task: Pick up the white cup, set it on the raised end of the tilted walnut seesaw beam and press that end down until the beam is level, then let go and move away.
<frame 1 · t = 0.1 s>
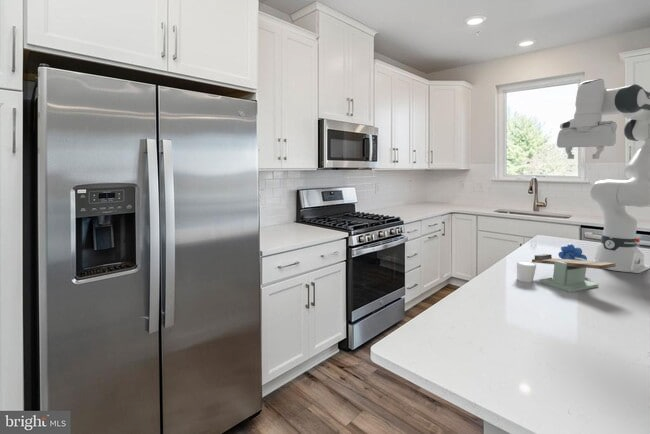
hand: (582, 158, 141), 48 cm above the countertop, tool pointing down, fingers open, 8 cm apart
grapes: (569, 272, 153), on the countertop
seesaw beam: (570, 261, 136), point 9 cm above the countertop, hinge at -10.0°
pivot stand: (568, 284, 138), on the countertop
white cup: (524, 280, 143), on the countertop
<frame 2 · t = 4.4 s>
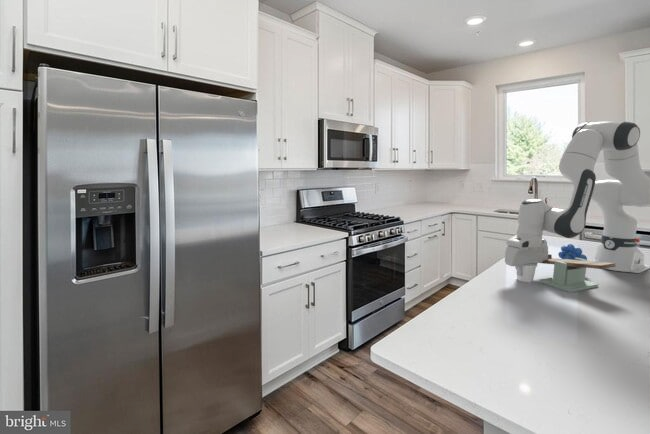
hand: (525, 274, 142), 2 cm above the countertop, tool pointing down, fingers closed on white cup, 5 cm apart
white cup: (524, 280, 143), on the countertop, touching gripper
everything else where it was.
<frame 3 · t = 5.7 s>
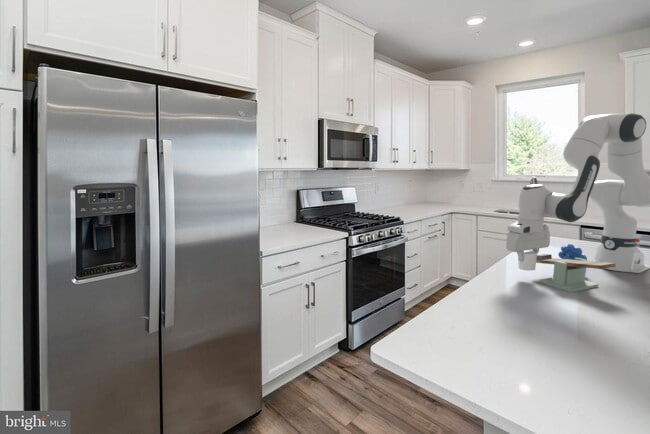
hand: (527, 260, 142), 8 cm above the countertop, tool pointing down, fingers closed on white cup, 5 cm apart
white cup: (526, 269, 142), point 4 cm above the countertop, touching gripper
everything else where it was.
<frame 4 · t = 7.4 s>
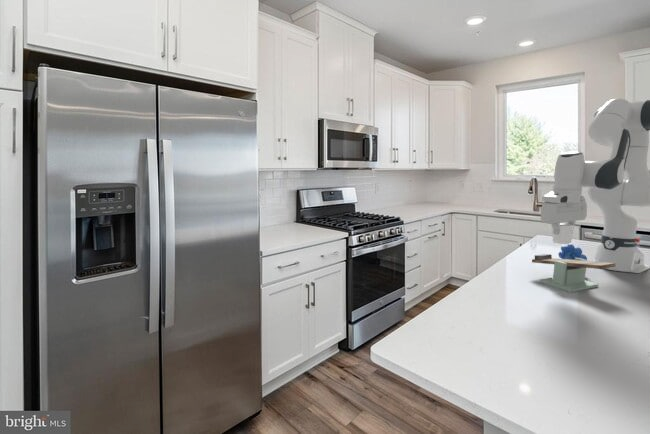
hand: (562, 233, 133), 20 cm above the countertop, tool pointing down, fingers closed on white cup, 5 cm apart
white cup: (561, 242, 134), point 17 cm above the countertop, touching gripper
everything else where it was.
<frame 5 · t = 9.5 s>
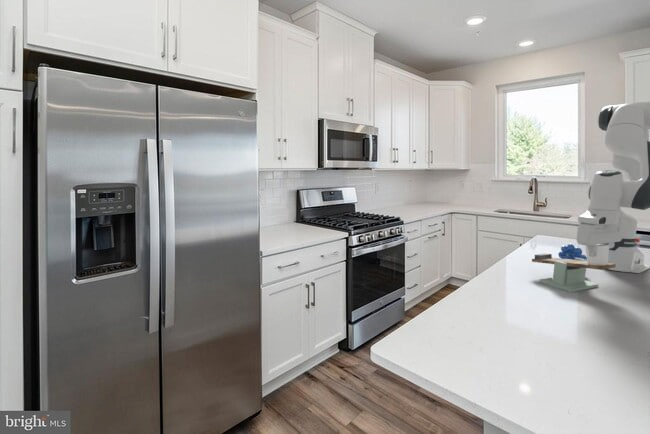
hand: (597, 255, 127), 14 cm above the countertop, tool pointing down, fingers closed on white cup, 5 cm apart
seesaw beam: (570, 261, 136), point 9 cm above the countertop, hinge at -8.9°, touching white cup
white cup: (597, 264, 127), point 10 cm above the countertop, touching gripper, seesaw beam
everything else where it was.
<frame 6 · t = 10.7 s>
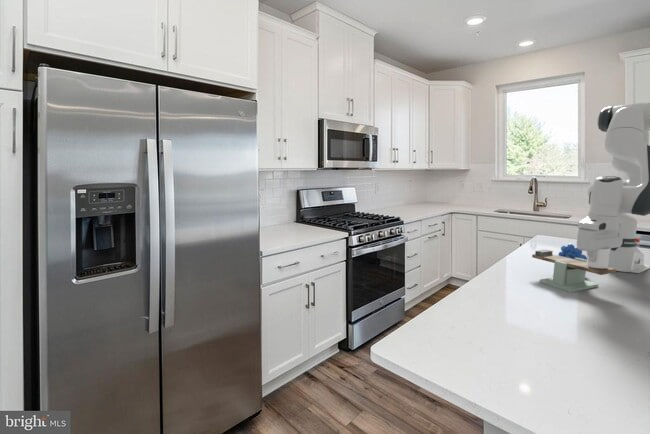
hand: (597, 260, 127), 12 cm above the countertop, tool pointing down, fingers closed on white cup, 5 cm apart
seesaw beam: (570, 261, 136), point 9 cm above the countertop, hinge at -0.9°, touching white cup
white cup: (598, 267, 127), point 9 cm above the countertop, touching gripper, seesaw beam
everything else where it was.
when the fingers open (12 cm above the countertop, at t = 11.2 s): white cup stays where it is, resting on seesaw beam.
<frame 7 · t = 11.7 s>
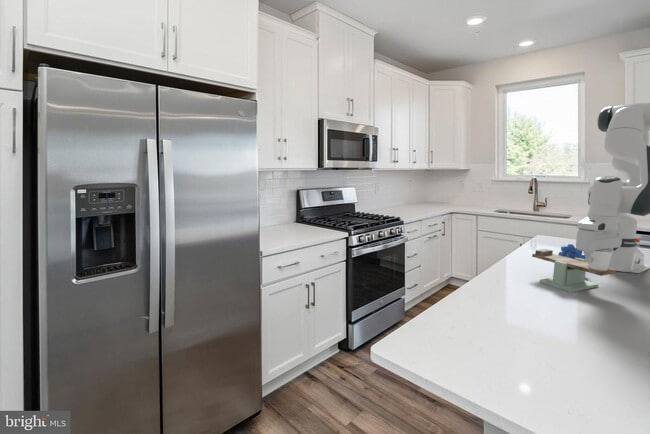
hand: (597, 261, 128), 12 cm above the countertop, tool pointing down, fingers open, 8 cm apart
seesaw beam: (570, 261, 136), point 9 cm above the countertop, hinge at 0.4°, touching white cup
white cup: (597, 268, 127), point 9 cm above the countertop, touching seesaw beam
everything else where it was.
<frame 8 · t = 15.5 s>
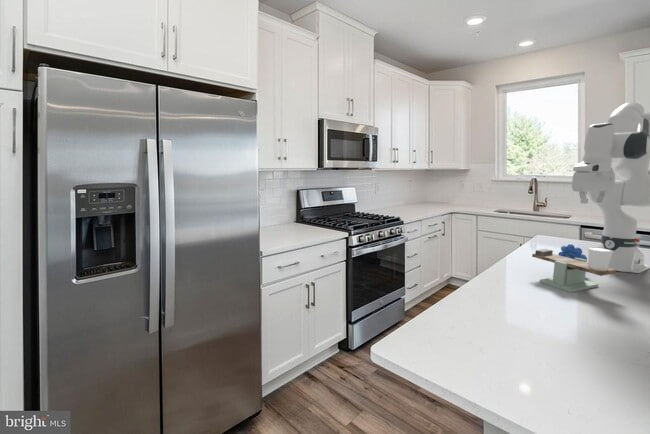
hand: (591, 202, 137), 31 cm above the countertop, tool pointing down, fingers open, 8 cm apart
nothing on the countertop moved.
at the end: seesaw beam at +0° (first picture: -10°); white cup inside the target area (0.5 cm from its centre), point 8.9 cm above the countertop; white cup tilted 0° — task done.
